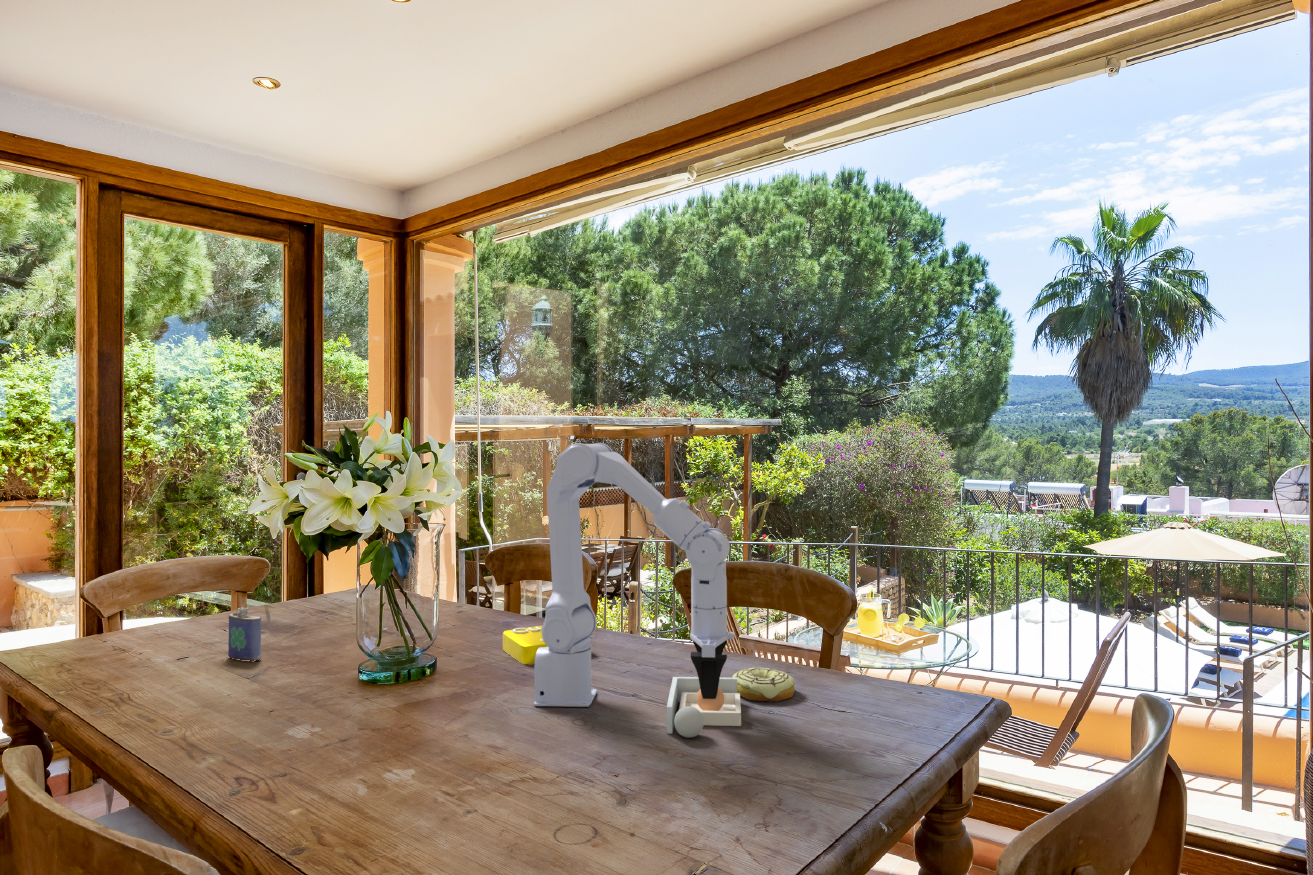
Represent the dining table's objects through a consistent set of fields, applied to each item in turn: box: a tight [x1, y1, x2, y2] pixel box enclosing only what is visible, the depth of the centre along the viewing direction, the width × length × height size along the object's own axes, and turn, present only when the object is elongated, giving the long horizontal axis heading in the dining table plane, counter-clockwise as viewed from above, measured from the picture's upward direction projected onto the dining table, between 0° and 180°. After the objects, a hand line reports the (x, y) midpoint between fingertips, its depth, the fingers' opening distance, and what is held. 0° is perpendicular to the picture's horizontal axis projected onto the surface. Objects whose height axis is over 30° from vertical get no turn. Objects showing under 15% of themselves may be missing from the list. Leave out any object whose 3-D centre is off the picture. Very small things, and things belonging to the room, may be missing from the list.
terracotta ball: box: [697, 687, 724, 711], centre depth 124 cm, size 4×4×4 cm
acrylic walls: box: [666, 676, 737, 735], centre depth 124 cm, size 11×15×4 cm
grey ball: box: [674, 706, 705, 739], centre depth 116 cm, size 4×4×4 cm
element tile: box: [502, 625, 548, 665], centre depth 164 cm, size 15×15×5 cm
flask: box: [227, 607, 262, 661], centre depth 161 cm, size 9×3×11 cm, turn 61°
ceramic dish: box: [678, 692, 742, 727], centre depth 125 cm, size 10×10×2 cm
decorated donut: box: [731, 666, 796, 702], centre depth 135 cm, size 10×11×4 cm
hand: (709, 690), depth 125 cm, fingers open, 7 cm apart
